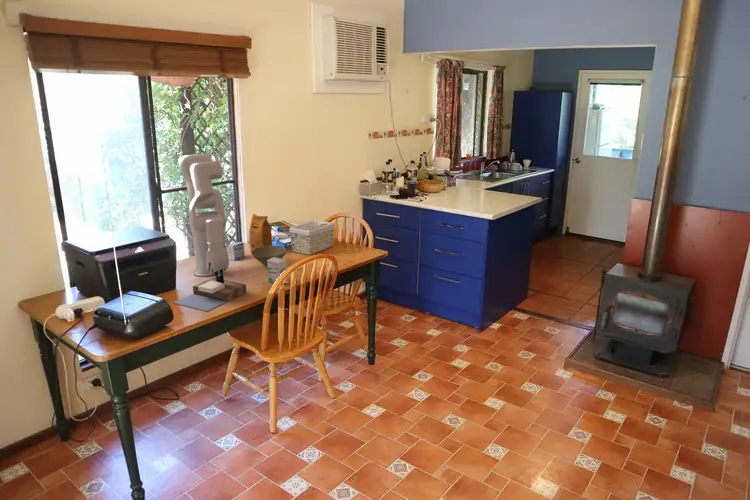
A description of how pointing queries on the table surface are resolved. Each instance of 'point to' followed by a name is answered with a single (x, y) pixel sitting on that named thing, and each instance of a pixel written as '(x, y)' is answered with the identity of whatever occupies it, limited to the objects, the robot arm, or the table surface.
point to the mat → (200, 302)
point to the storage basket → (312, 237)
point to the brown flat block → (222, 290)
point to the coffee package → (260, 232)
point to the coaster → (211, 287)
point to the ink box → (275, 268)
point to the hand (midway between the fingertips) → (220, 283)
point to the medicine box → (236, 251)
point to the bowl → (268, 253)
